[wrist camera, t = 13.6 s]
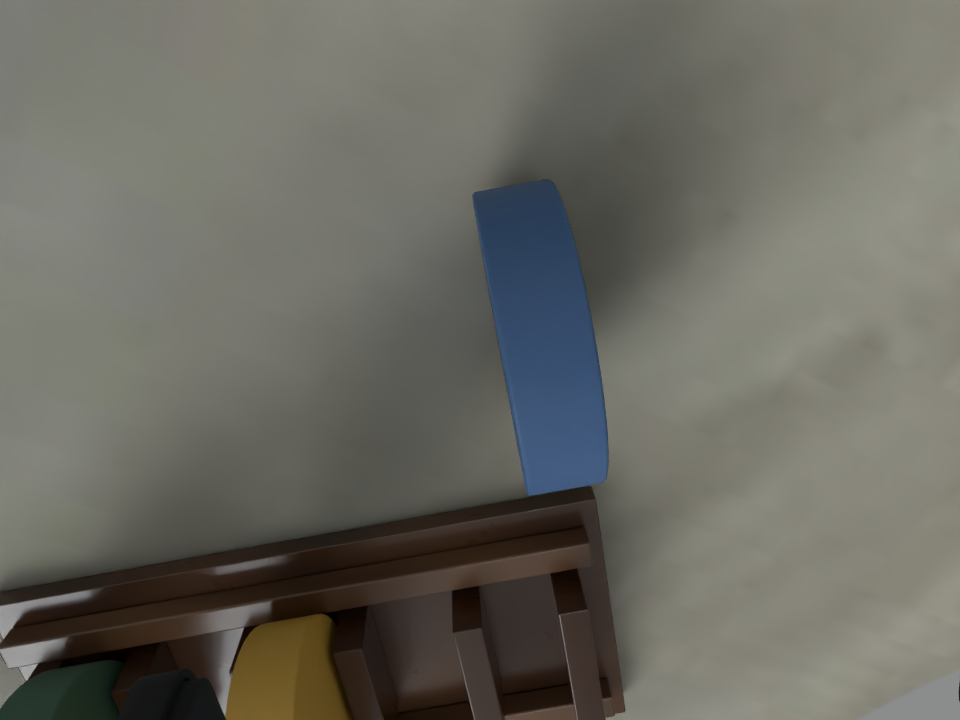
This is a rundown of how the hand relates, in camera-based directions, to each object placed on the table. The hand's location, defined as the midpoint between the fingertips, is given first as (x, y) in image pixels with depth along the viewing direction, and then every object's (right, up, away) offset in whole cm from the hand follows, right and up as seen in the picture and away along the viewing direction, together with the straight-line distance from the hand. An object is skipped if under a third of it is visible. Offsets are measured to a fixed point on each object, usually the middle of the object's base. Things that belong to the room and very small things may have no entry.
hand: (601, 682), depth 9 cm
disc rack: (-7, -7, +19) cm, 22 cm away
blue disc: (0, +6, +14) cm, 16 cm away
